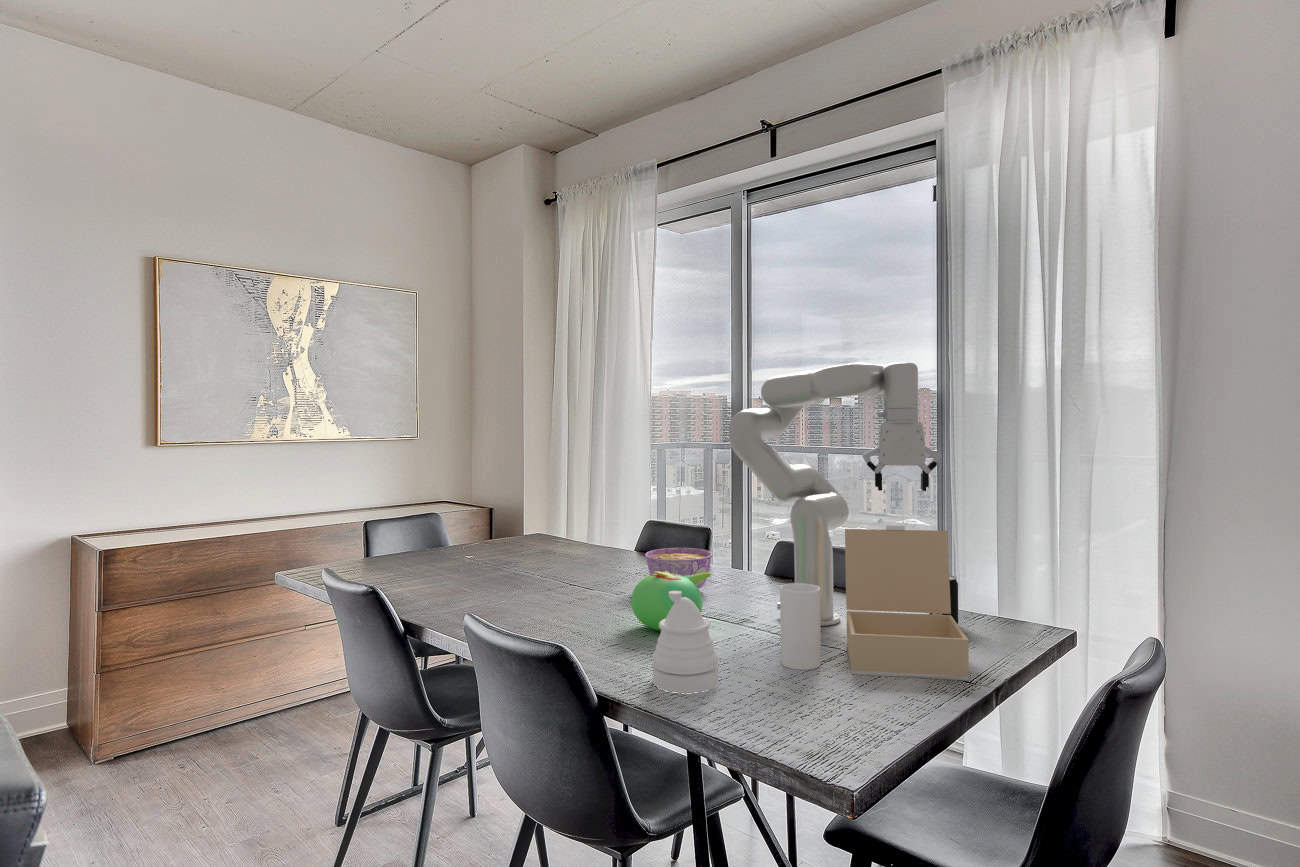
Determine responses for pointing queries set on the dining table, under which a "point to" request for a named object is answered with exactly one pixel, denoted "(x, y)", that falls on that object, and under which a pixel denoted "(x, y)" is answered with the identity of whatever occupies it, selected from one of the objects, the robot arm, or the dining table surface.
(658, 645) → the honey pot
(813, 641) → the cup
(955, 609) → the beverage can
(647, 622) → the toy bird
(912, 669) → the mailer box
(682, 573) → the bowl of food
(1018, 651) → the dining table surface
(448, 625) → the dining table surface
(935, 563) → the lid
